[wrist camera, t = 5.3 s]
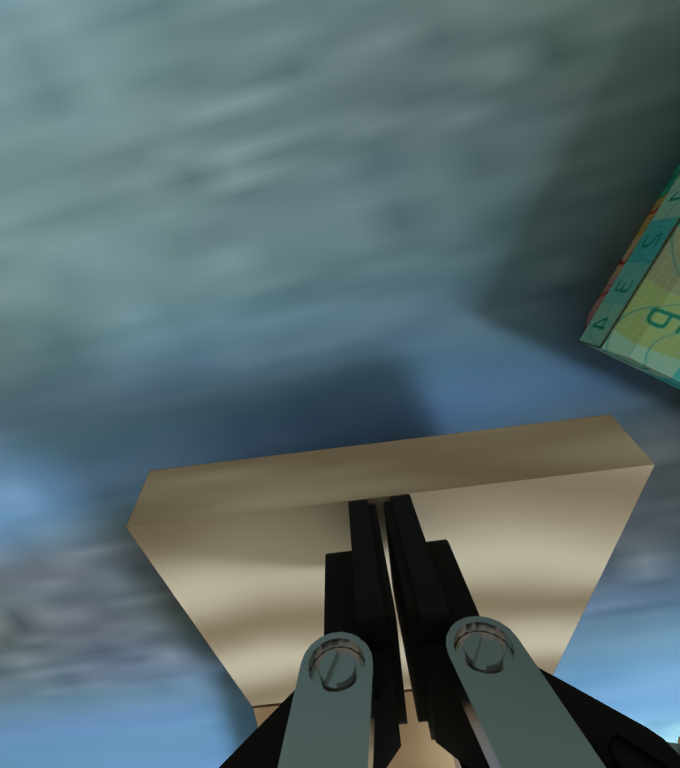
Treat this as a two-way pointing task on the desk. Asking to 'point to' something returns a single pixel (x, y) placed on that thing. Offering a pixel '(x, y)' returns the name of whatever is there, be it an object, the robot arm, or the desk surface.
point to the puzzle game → (645, 296)
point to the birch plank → (376, 485)
